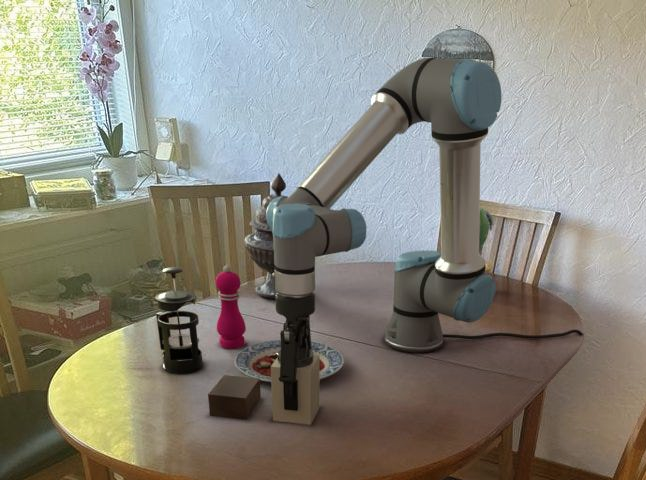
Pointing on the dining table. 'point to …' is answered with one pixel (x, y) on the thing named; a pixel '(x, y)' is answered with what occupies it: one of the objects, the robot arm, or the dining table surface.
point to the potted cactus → (484, 232)
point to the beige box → (306, 389)
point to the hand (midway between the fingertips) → (297, 399)
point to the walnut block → (234, 397)
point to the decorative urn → (264, 241)
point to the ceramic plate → (264, 354)
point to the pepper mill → (230, 310)
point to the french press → (179, 348)
